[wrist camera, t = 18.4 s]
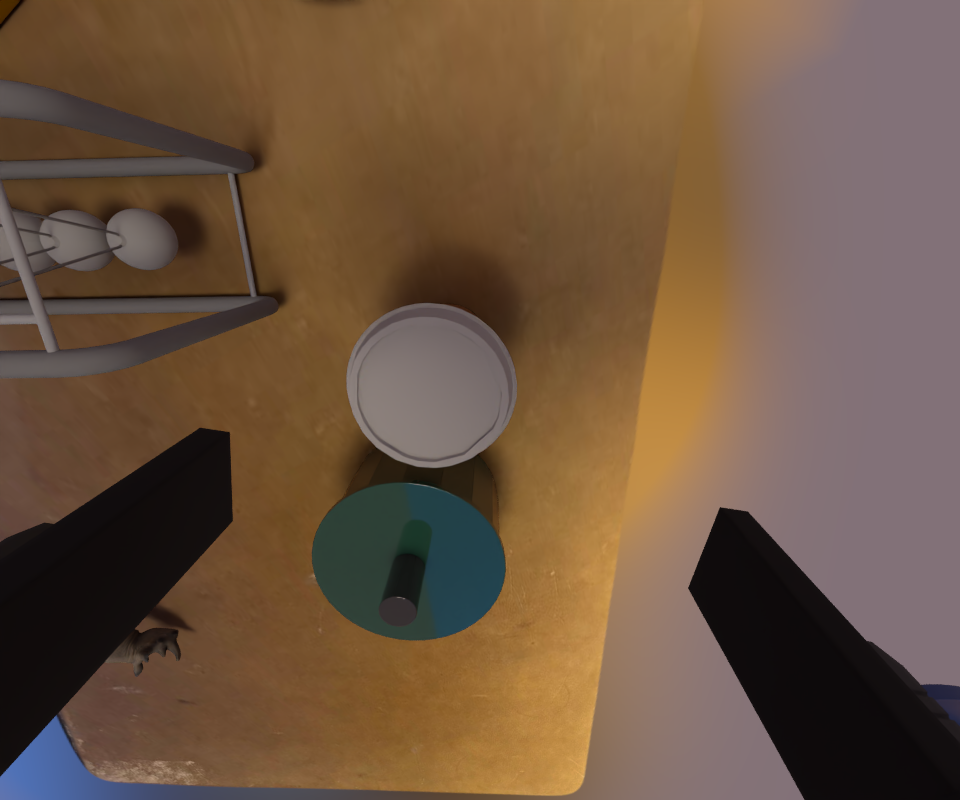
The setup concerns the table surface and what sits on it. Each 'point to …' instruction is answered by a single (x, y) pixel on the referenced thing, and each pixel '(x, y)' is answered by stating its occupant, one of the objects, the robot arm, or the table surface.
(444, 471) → the pot
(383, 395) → the disposable coffee cup
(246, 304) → the newton's cradle
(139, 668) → the rhino figurine
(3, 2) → the element tile
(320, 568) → the pot lid
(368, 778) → the table surface
